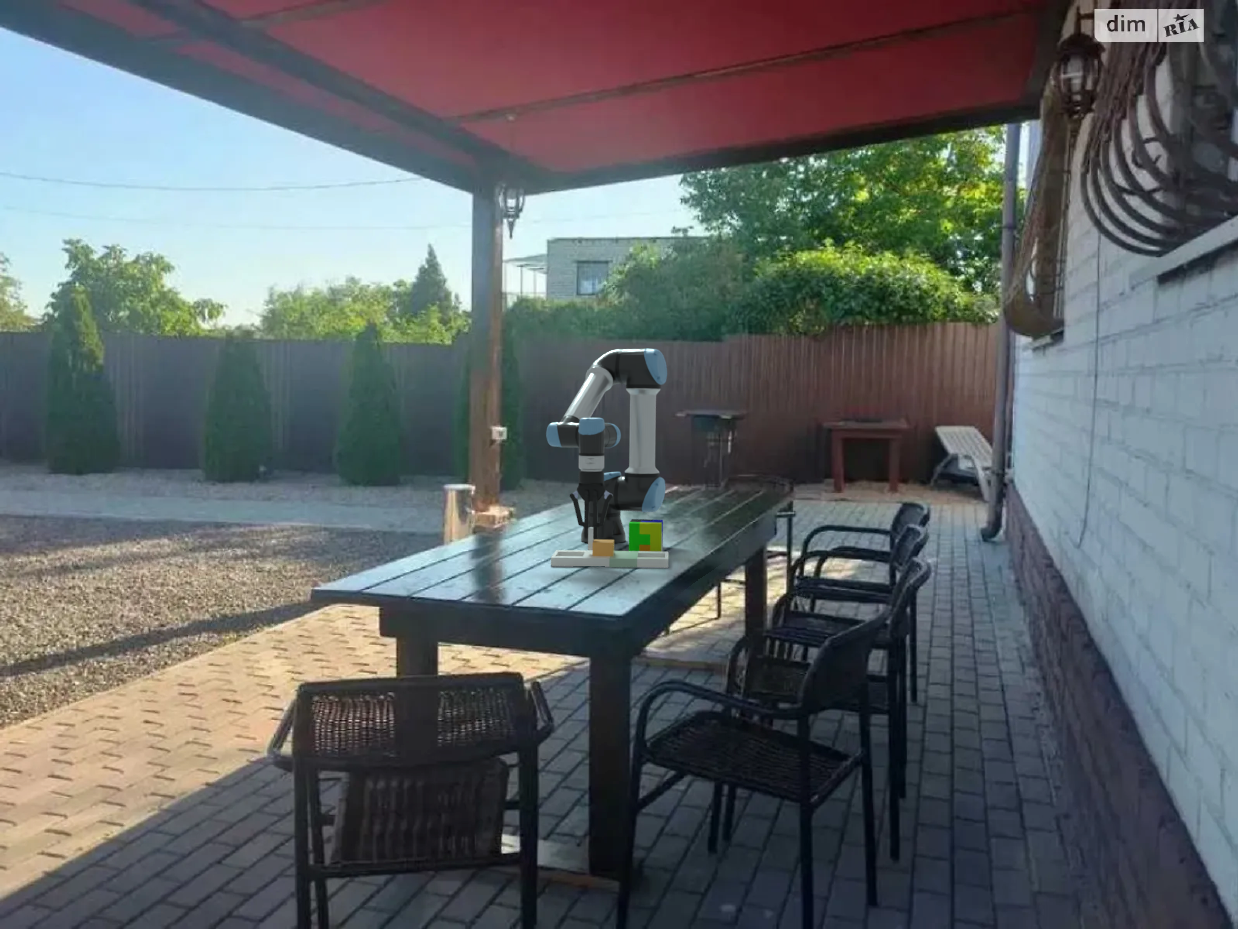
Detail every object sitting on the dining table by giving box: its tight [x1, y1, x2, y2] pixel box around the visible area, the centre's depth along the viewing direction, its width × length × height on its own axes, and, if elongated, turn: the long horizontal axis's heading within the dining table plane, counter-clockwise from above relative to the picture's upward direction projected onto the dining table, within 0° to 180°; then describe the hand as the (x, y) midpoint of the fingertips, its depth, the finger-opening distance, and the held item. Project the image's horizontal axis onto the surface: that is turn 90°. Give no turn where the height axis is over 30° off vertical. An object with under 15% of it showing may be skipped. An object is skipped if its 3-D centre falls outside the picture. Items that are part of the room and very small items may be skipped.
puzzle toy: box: [628, 518, 664, 552], centre depth 317 cm, size 10×10×10 cm
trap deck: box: [550, 549, 669, 569], centre depth 298 cm, size 14×34×2 cm, turn 87°
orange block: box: [592, 539, 615, 556], centre depth 298 cm, size 6×6×4 cm
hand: (590, 549), depth 298 cm, fingers closed
